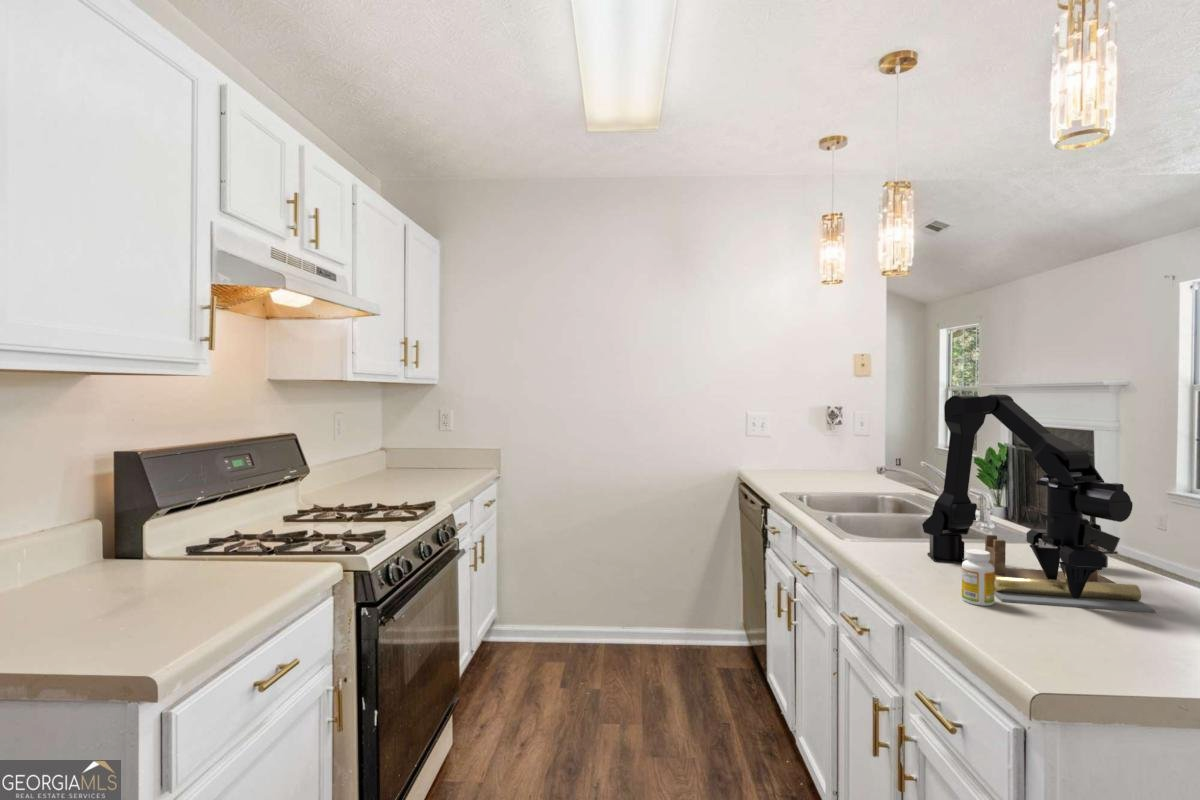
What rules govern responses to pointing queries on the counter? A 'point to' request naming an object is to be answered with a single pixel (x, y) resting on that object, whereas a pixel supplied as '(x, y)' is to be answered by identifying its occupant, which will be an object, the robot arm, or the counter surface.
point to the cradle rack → (998, 562)
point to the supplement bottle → (978, 578)
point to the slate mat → (1073, 601)
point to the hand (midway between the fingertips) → (1063, 590)
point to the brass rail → (1066, 588)
